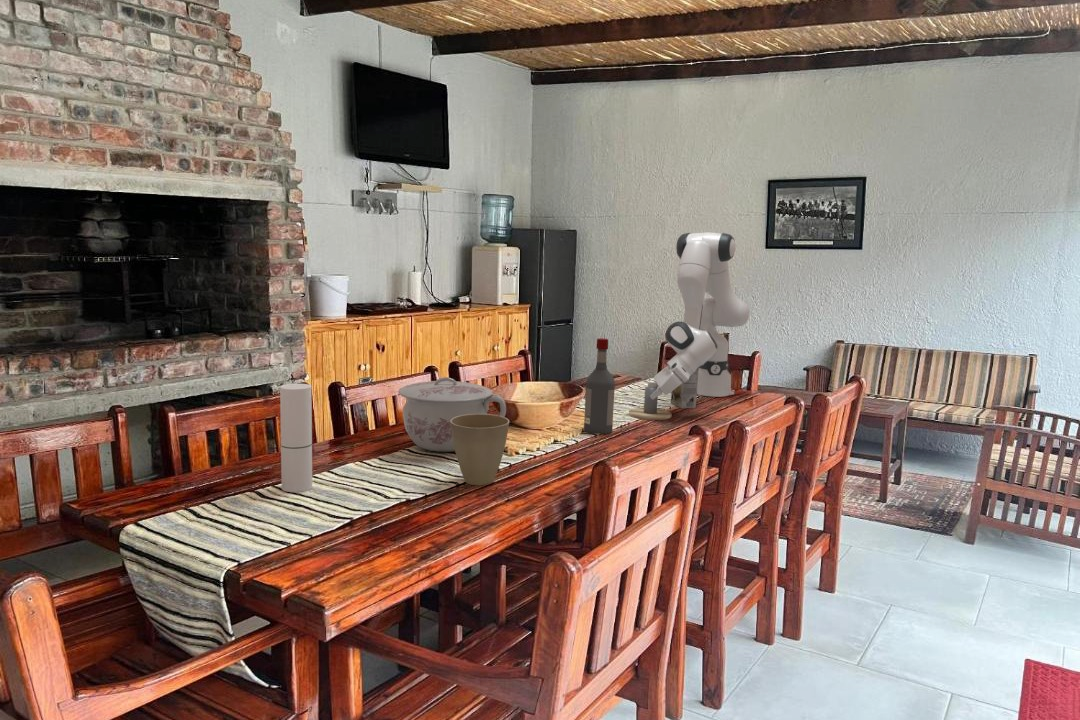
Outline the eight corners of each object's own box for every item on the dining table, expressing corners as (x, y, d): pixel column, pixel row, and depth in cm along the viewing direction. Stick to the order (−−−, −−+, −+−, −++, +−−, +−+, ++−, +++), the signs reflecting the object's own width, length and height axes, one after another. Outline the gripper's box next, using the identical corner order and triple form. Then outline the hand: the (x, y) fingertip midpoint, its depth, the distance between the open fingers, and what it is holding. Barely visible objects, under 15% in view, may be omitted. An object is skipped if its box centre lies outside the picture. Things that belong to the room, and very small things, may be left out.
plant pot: (477, 468, 215) (479, 410, 212) (519, 481, 206) (521, 420, 203) (436, 481, 204) (437, 419, 201) (479, 494, 194) (480, 430, 192)
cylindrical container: (310, 481, 199) (309, 383, 195) (313, 490, 193) (312, 388, 189) (280, 484, 197) (279, 384, 193) (282, 493, 190) (281, 390, 186)
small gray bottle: (643, 410, 288) (644, 380, 286) (656, 411, 288) (657, 381, 286) (644, 413, 283) (646, 383, 281) (657, 414, 283) (659, 383, 281)
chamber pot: (378, 444, 236) (378, 374, 232) (451, 430, 255) (452, 365, 252) (437, 466, 216) (439, 390, 213) (512, 449, 236) (514, 379, 232)
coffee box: (669, 403, 307) (672, 361, 305) (685, 402, 309) (687, 361, 306) (681, 408, 299) (683, 365, 296) (696, 407, 301) (699, 365, 298)
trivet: (627, 409, 293) (627, 407, 293) (668, 411, 293) (668, 408, 292) (630, 419, 278) (630, 416, 278) (674, 421, 278) (674, 418, 278)
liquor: (612, 427, 265) (617, 338, 260) (612, 434, 256) (616, 341, 251) (584, 426, 266) (588, 336, 261) (583, 433, 257) (587, 340, 252)
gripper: (669, 357, 292) (640, 383, 294) (676, 367, 272) (646, 394, 274) (680, 370, 293) (652, 395, 295) (689, 380, 273) (658, 407, 275)
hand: (649, 395), depth 284 cm, fingers open, 8 cm apart
